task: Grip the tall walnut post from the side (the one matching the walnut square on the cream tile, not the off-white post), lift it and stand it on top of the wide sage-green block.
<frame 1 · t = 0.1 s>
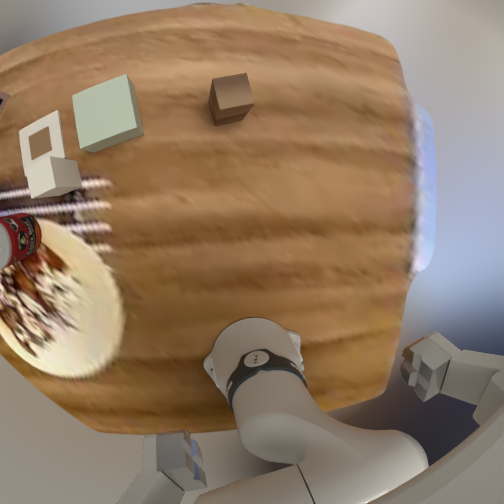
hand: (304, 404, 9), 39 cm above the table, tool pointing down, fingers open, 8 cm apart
walnut post: (225, 110, 42), on the table
canned food: (26, 233, 40), on the table
sage block: (113, 118, 39), on the table
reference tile: (42, 143, 37), on the table
offwhite post: (68, 178, 39), on the table
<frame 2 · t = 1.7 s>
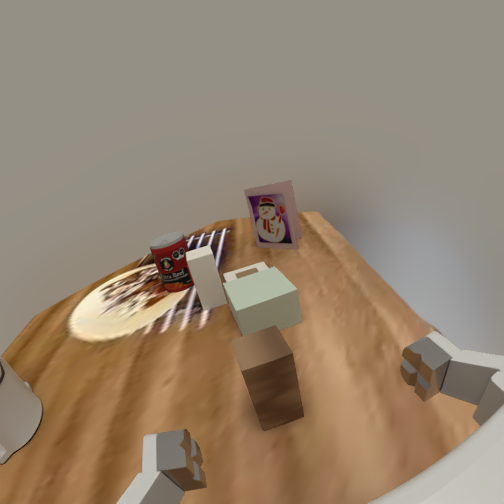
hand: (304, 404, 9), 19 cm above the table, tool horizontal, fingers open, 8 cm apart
walnut post: (277, 409, 28), on the table
canned food: (181, 284, 63), on the table
sage block: (265, 318, 45), on the table
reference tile: (249, 279, 58), on the table
greeting card: (282, 244, 72), on the table
offwhite post: (214, 301, 53), on the table
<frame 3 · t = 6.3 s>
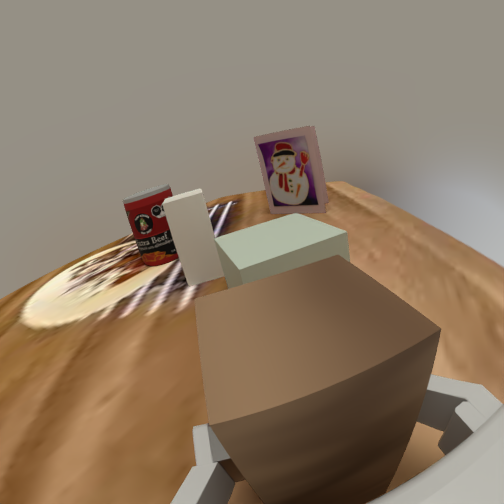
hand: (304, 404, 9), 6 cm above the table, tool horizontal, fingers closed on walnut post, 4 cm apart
walnut post: (321, 479, 10), on the table, touching gripper
canned food: (166, 257, 46), on the table
sage block: (285, 294, 27), on the table
greeting card: (304, 209, 54), on the table
offwhite post: (205, 273, 35), on the table
when the fingers open (13 cm above the table, at t = 10.2 s): walnut post drops 2 cm, resting on sage block.
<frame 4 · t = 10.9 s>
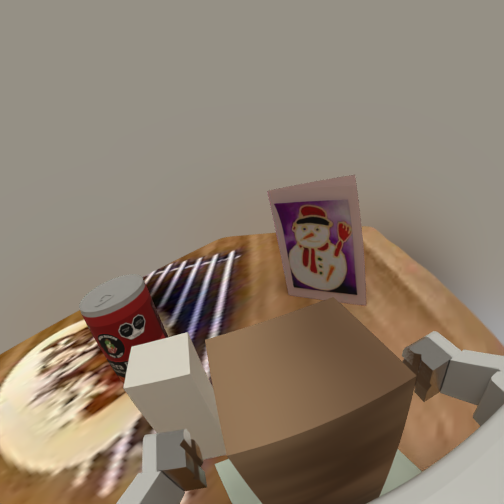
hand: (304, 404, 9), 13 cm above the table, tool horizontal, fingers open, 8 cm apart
walnut post: (319, 488, 10), point 6 cm above the table, touching sage block
canned food: (150, 370, 31), on the table
greeting card: (333, 290, 39), on the table
offwhite post: (205, 438, 21), on the table
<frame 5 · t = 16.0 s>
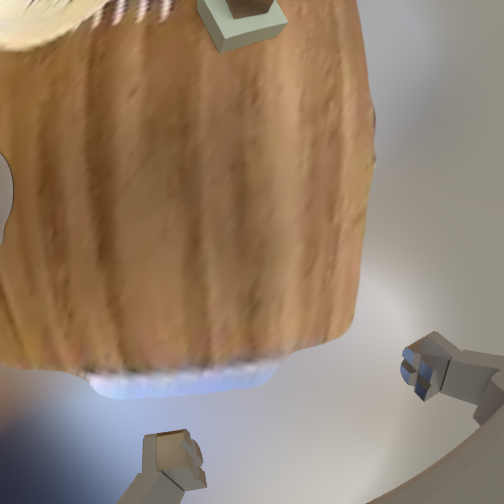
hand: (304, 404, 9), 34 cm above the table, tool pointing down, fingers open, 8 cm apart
walnut post: (245, 3, 26), point 6 cm above the table, touching sage block
sage block: (236, 22, 32), on the table, touching walnut post
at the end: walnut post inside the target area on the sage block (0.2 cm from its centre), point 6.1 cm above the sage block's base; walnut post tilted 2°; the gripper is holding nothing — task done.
